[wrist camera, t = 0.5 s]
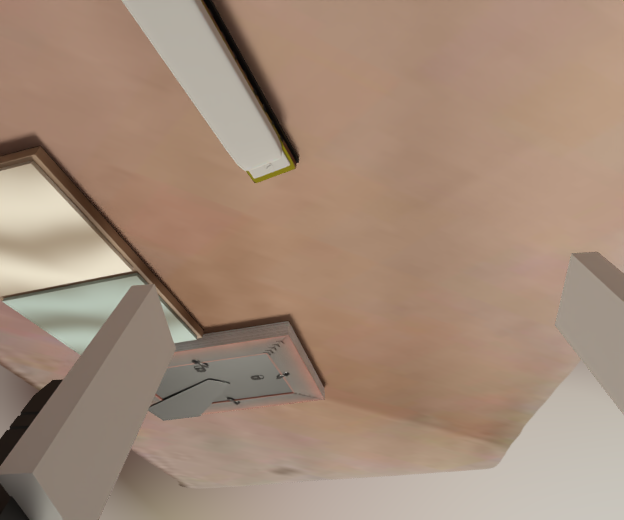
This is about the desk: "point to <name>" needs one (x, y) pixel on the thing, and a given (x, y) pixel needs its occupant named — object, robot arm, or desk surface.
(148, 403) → the robot arm
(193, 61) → the harmonica
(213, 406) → the picture frame
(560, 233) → the desk surface
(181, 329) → the board
